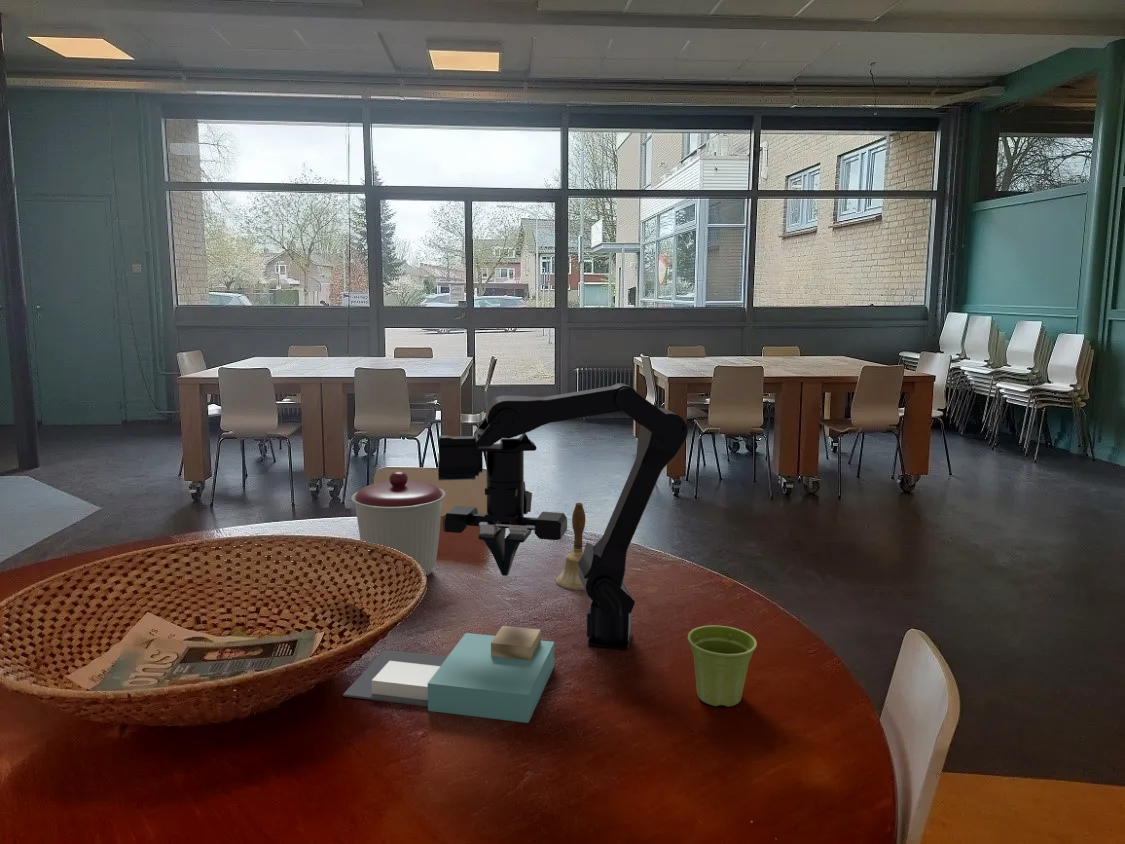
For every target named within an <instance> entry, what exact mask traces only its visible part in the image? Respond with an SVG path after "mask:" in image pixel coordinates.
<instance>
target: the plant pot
mask: <svg viewBox="0 0 1125 844" xmlns="http://www.w3.org/2000/svg"><path fill="white" fill-rule="evenodd" d="M687 641H688V643H689V644H690V648H691V651H692V654H693V663H694V675H695V684H696V694H697V697H698V698H699V700H701V702H703V703H705V704H708V705H711V706H713V707H719V706H725V707H728V708H729V707H733V706H736V705H738V704H739V703H740V702H741V701H742V696H743V692H744V686H745V683H746V677H747V673H748V669H749V665H750V664H749V663H750V660H751V659H752V657H753V653H754V651H755V650H756V649H757V646H758V642H757V639H756V638H755V637H754V636H753V635H752V634H750V633H749V632H746V631H745V630H741V629H739V628H736V627H732V626H725V625H715V624H714V625H703V626H697V627H695V628H693V629H691V631H689V632H688V635H687Z"/></svg>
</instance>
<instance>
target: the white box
mask: <svg viewBox="0 0 1125 844" xmlns="http://www.w3.org/2000/svg"><path fill="white" fill-rule="evenodd" d="M439 668H440V666H433V665H424V664H415V663H406V662H397V661H389V662H388V663H387V664H386V665H385V666H384V667H383V669H382V670H381V671H380V672H379V673H378V674H377V675H376V676H375V677H374V678H373V679H372V694H380V695H388V696H396V697H405V698H413V699H421V700H428V682H429V681H430V679H431V678H432V677H433V675H434V674H435V673H436V671H437V670H438V669H439Z"/></svg>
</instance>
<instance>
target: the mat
mask: <svg viewBox="0 0 1125 844" xmlns="http://www.w3.org/2000/svg"><path fill="white" fill-rule="evenodd" d="M447 657H448V655H447V656H445V655H437V654H426V653H417V652H410V651H409V652H406V651H398V650H388V649H384V650H383V651H382V652H381V654H379V656H378V657H377V658H376V659H375V660H374V661H373V662H372V663H371V664H370V665H369V666H368V667H367V668H366V669H365V670H364V672H363V673H362V674H361V675H360V676H358V678H357V679H356V680H355V681H354V682H353V683H352V684H351V685H350V686H349V687H348V688H347V690H345V691H344V693H343V694H342V696H343V697H346V698H354V699H362V700H363V699H364V700H372V701H379V702H388V703H397V704H402V705H403V704H405V705H411V706H412V705H414V706H421V707H428V700H421V699H413V698H405V697H396V696H388V695H380V694H372V679H373V678H374V677H375V676H376V675H377V674H378V673H379V672H380V671H381V670H382V669H383V667H384V666H385V665H386V664H387V663H388V662H389V661H397V662H406V663H415V664H424V665H433V666H441V665H442V664H443V662H444V661H445V660H446V658H447Z"/></svg>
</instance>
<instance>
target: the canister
mask: <svg viewBox="0 0 1125 844" xmlns="http://www.w3.org/2000/svg"><path fill="white" fill-rule="evenodd" d="M350 498H351V502H352V503H353V504H354V506H355V512H356V513H355V515H356V520H357V526H358V533H359V534H358V535H359V539H360V540H359V541H361V540H362V541H366V542H370V543H375V544H379V545H383V546H386V547H390V548H393V549H396V550H398V551H400V552H402V553H405V554H407V555H409V556H410V557H412V558H413V559H415V560H416V561H417V562H418V563H419V564H420V565H421V567H422V568H423V569H424V571H425V572H426V575H427V576H426V577H428V576H429V575H430V574H431V573H432V572H433V571H434V569H435V565H436V562H437V556H438V550H439V549H438V547H439V541H440V540H439V539H440V529H441V518H442V507H443V500H444V499H445V498H446V491H445V490H443V489H442V488H440V487H438V486H436V484H433V483H430V482H426V481H421V480H411V479H410V480H409V479H408V475H407V473H405V472H404V471H398V470H397V471H394V472H392V473H391V474H390V475H389V477H388V481H381V482H376V483H372V484H369V485H366V486H364V487H362V488H361V489H359V490H358V491H356V492H354V493H353V494H352V495H351V497H350Z"/></svg>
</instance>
